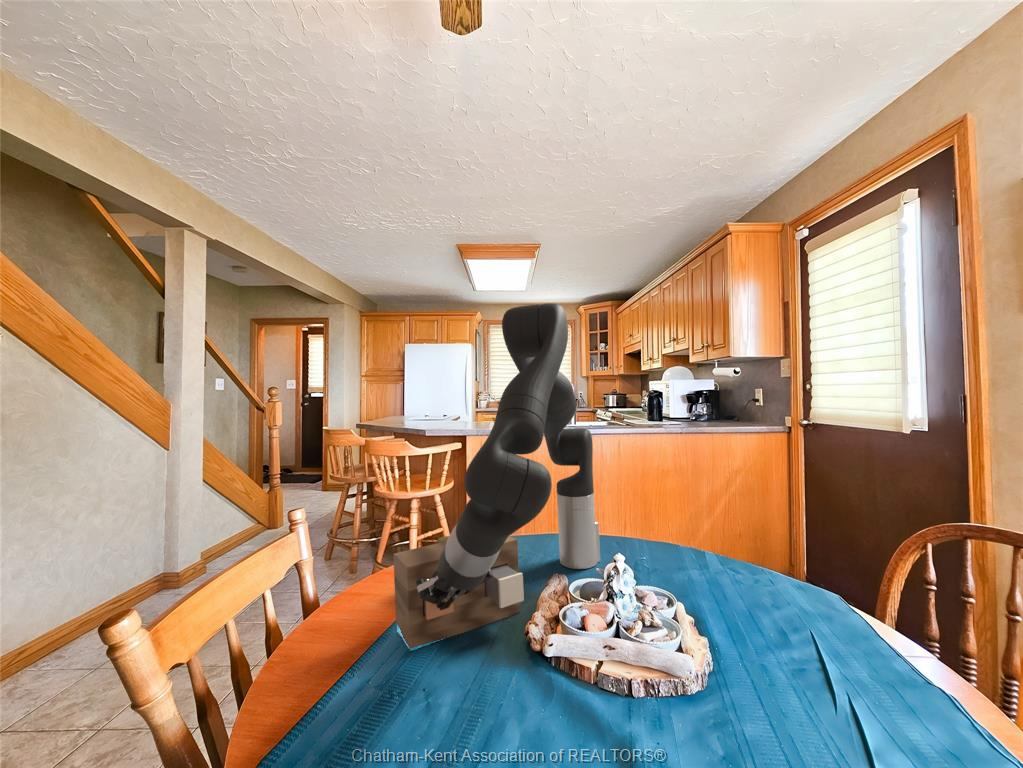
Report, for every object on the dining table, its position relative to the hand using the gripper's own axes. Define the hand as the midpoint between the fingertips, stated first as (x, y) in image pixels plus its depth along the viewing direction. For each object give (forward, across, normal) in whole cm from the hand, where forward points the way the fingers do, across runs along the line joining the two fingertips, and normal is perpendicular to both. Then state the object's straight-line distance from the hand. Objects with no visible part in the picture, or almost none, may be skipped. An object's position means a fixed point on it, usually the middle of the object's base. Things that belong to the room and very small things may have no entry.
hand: (442, 603), depth 72 cm
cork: (+20, -10, -10) cm, 25 cm away
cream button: (+2, -12, +1) cm, 12 cm away
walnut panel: (+10, -6, +1) cm, 11 cm away
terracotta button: (+5, 0, -2) cm, 5 cm away
